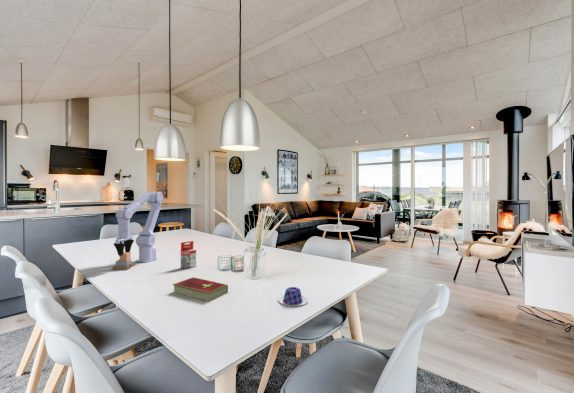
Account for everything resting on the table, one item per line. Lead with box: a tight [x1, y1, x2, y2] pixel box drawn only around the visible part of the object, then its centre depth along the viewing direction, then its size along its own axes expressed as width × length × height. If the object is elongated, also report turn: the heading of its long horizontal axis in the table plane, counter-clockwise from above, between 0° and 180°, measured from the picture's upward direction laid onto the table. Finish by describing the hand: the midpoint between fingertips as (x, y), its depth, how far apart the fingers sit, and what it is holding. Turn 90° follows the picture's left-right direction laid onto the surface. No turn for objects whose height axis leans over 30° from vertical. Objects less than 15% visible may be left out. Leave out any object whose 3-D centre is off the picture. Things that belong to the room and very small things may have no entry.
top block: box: [114, 258, 132, 266], centre depth 161 cm, size 6×6×2 cm
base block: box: [112, 262, 136, 271], centre depth 161 cm, size 8×8×2 cm
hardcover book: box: [172, 277, 229, 302], centre depth 125 cm, size 12×21×4 cm, turn 62°
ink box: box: [180, 240, 197, 270], centre depth 163 cm, size 4×8×15 cm, turn 134°
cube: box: [119, 251, 132, 261], centre depth 161 cm, size 4×4×4 cm
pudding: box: [278, 286, 308, 307], centre depth 116 cm, size 12×12×5 cm
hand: (124, 253), depth 160 cm, fingers open, 7 cm apart
